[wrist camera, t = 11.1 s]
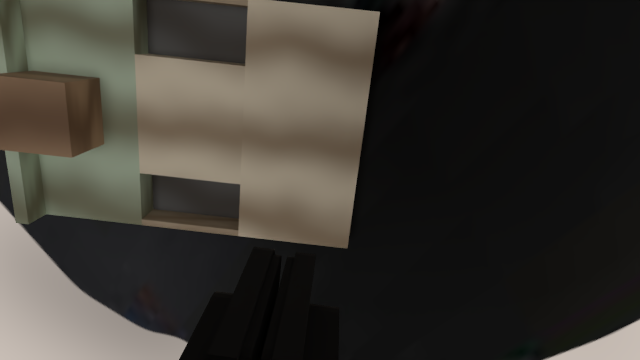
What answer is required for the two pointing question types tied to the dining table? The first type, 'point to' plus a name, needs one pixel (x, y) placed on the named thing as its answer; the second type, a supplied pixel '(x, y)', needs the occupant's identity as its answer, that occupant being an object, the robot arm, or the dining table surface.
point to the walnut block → (50, 113)
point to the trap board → (202, 113)
